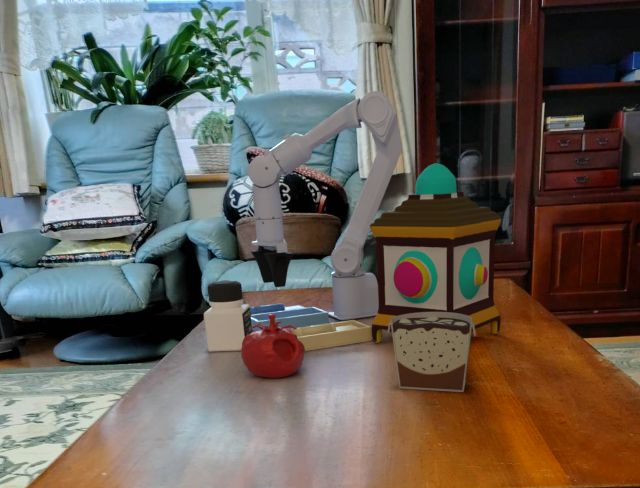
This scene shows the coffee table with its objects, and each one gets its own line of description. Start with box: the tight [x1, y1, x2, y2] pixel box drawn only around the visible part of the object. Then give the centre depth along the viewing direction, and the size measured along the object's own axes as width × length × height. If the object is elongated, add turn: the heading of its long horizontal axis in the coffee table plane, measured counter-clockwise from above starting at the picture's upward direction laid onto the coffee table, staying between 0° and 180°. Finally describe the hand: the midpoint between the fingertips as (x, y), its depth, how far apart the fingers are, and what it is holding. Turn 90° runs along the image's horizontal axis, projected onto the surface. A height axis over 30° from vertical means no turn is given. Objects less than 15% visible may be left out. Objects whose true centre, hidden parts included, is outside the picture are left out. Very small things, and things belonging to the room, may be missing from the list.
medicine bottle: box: [203, 279, 253, 353], centre depth 124 cm, size 7×7×12 cm
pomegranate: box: [240, 314, 306, 379], centre depth 106 cm, size 10×10×9 cm
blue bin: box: [251, 306, 330, 333], centre depth 140 cm, size 15×8×3 cm, turn 116°
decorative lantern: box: [370, 162, 502, 344], centre depth 120 cm, size 20×20×30 cm
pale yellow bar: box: [294, 322, 358, 337], centre depth 125 cm, size 12×4×3 cm, turn 116°
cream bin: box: [290, 319, 373, 352], centre depth 125 cm, size 15×8×3 cm, turn 116°
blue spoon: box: [250, 303, 306, 315], centre depth 149 cm, size 12×4×3 cm, turn 116°
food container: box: [387, 312, 477, 393], centre depth 97 cm, size 12×6×10 cm, turn 71°
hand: (274, 284), depth 147 cm, fingers open, 7 cm apart
